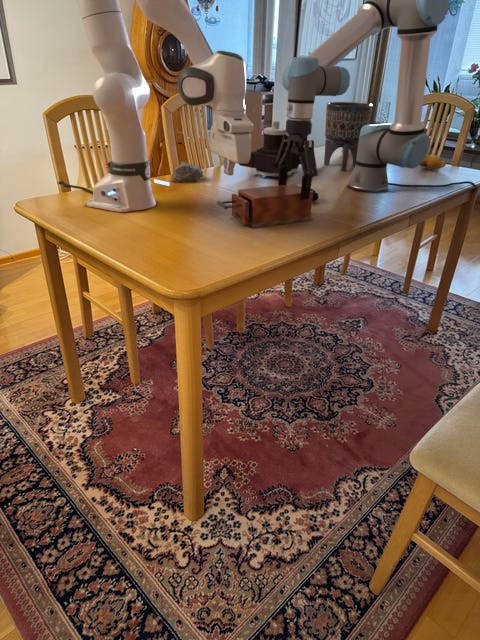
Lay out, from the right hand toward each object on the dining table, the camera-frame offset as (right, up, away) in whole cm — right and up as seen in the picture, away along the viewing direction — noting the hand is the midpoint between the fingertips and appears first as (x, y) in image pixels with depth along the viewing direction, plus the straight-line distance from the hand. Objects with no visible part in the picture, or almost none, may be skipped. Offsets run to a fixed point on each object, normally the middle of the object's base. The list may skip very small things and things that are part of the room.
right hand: (292, 193), depth 140 cm
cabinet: (-6, -7, +1) cm, 10 cm away
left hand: (-20, +2, -12) cm, 23 cm away
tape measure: (+7, +2, +18) cm, 20 cm away
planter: (+31, +32, +70) cm, 83 cm away
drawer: (-11, -8, -1) cm, 14 cm away
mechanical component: (+1, +24, +56) cm, 61 cm away
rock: (-37, +17, +42) cm, 59 cm away
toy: (+73, +32, +72) cm, 107 cm away
